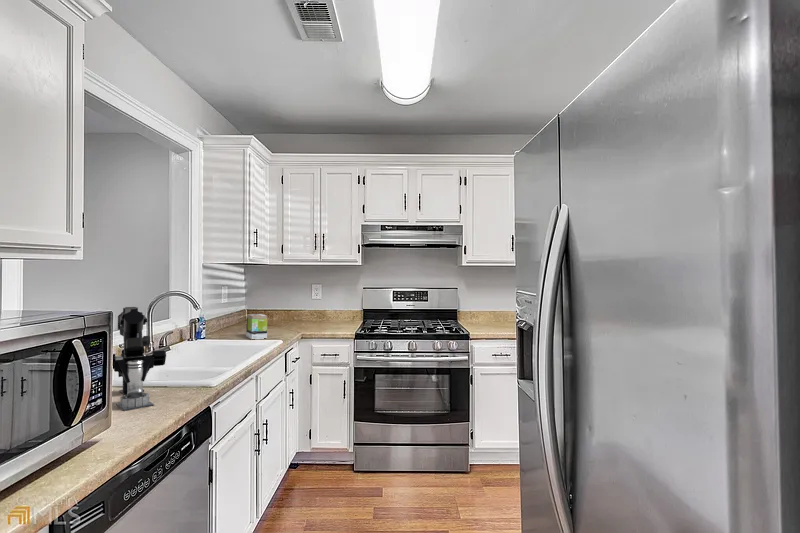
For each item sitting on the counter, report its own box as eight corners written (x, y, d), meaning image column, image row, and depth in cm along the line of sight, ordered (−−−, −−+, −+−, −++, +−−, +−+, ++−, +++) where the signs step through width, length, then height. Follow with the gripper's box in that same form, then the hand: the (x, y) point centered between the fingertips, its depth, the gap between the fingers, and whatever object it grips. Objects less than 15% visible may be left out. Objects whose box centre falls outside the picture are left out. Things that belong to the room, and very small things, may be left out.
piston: (127, 399, 157) (127, 360, 157) (144, 398, 159) (144, 359, 159) (125, 404, 152) (125, 363, 152) (143, 402, 154) (143, 361, 154)
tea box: (267, 338, 300) (267, 315, 300) (251, 340, 295) (251, 316, 295) (261, 335, 313) (261, 313, 313) (245, 336, 308) (245, 313, 308)
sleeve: (116, 405, 156) (116, 395, 156) (145, 400, 162) (145, 391, 162) (124, 411, 150) (124, 401, 150) (153, 405, 156) (153, 396, 156)
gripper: (101, 329, 154) (101, 370, 145) (165, 326, 164) (169, 364, 155) (101, 350, 161) (101, 390, 151) (162, 345, 171) (166, 383, 161)
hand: (135, 381), depth 155 cm, fingers closed on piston, 4 cm apart
